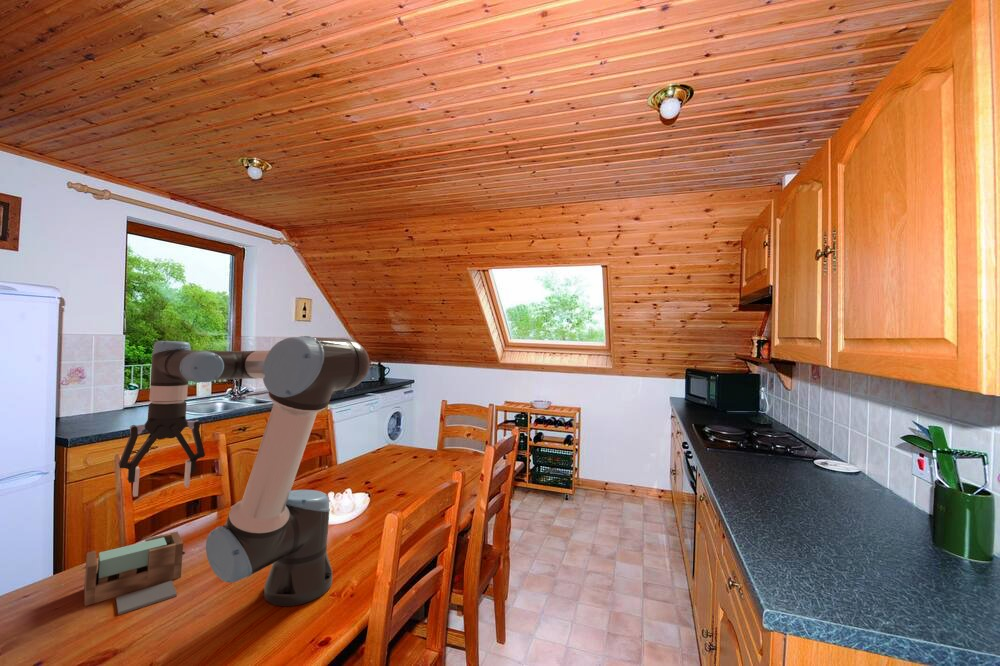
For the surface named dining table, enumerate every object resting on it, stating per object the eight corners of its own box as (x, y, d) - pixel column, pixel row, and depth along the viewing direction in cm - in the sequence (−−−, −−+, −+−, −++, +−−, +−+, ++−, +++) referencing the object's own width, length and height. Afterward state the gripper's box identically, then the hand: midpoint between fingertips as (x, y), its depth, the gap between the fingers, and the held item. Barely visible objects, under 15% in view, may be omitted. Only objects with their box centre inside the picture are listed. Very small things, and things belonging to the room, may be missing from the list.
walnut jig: (175, 563, 108) (177, 531, 109) (180, 577, 102) (183, 543, 103) (84, 589, 96) (86, 552, 96) (84, 606, 90) (87, 567, 90)
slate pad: (176, 596, 95) (176, 593, 95) (118, 615, 88) (118, 612, 88) (171, 582, 100) (171, 580, 100) (116, 599, 93) (116, 597, 93)
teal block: (162, 552, 105) (164, 537, 105) (165, 560, 102) (166, 544, 102) (97, 569, 96) (99, 552, 97) (98, 578, 93) (99, 561, 93)
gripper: (216, 397, 114) (210, 477, 113) (107, 402, 98) (100, 496, 97) (223, 400, 109) (217, 484, 108) (109, 406, 93) (101, 505, 92)
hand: (161, 490), depth 103 cm, fingers open, 9 cm apart
